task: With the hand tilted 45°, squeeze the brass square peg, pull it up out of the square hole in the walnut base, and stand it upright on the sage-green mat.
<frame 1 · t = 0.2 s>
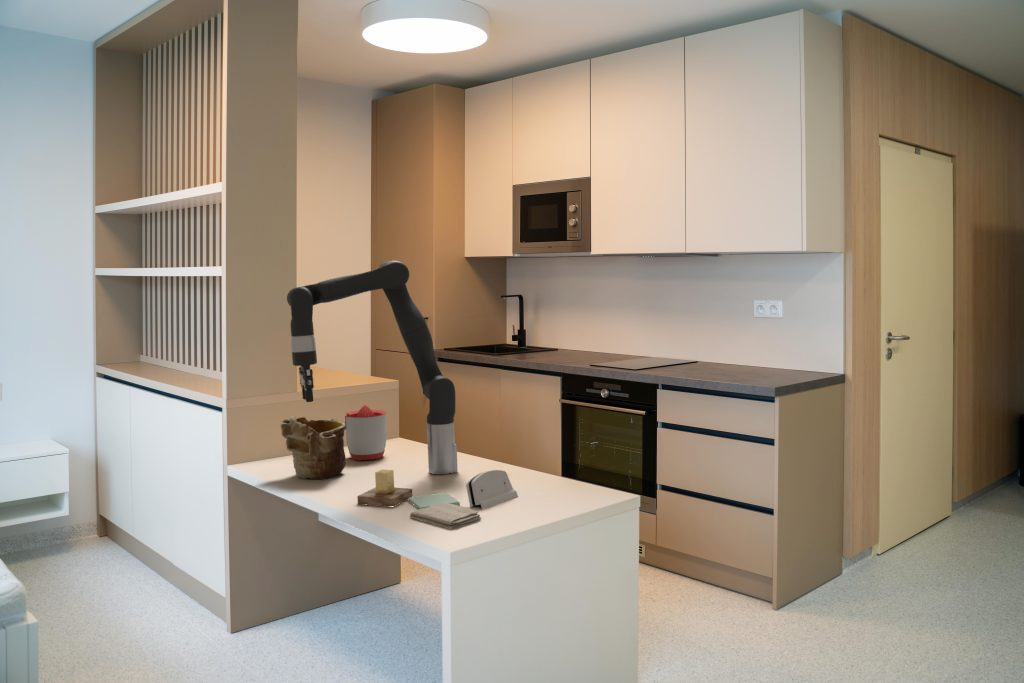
hand: (308, 400, 263), 29 cm above the countertop, tool pointing down, fingers open, 8 cm apart
socket base: (385, 500, 249), on the countertop
mat: (433, 503, 245), on the countertop
washcloth: (445, 521, 229), on the countertop
citrus juicer: (364, 458, 310), on the countertop
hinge: (491, 501, 246), on the countertop
peg: (384, 486, 249), in the socket base
ceramic vessel: (322, 476, 283), on the countertop
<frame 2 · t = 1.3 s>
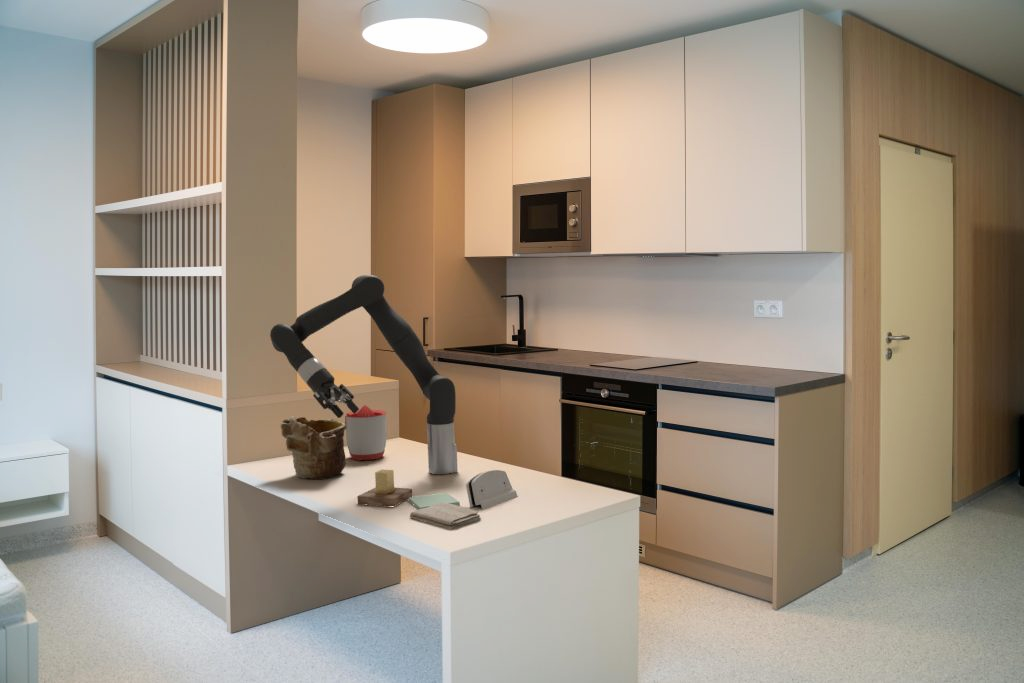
hand: (349, 413, 251), 26 cm above the countertop, tool tilted 45°, fingers open, 8 cm apart
nothing on the countertop moved.
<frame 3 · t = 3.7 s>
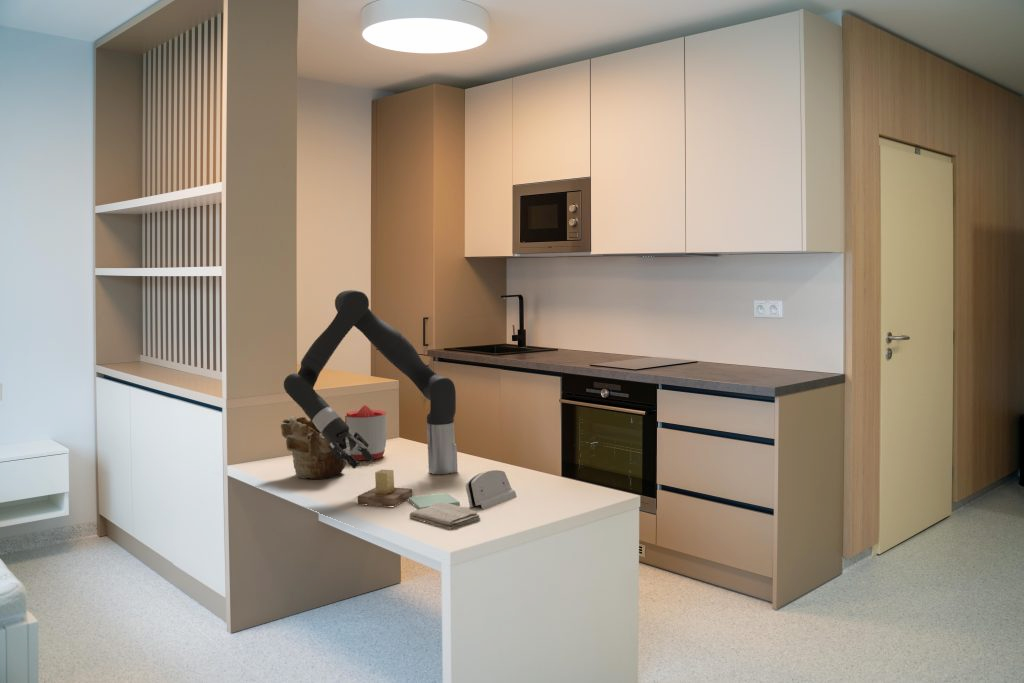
hand: (364, 463, 251), 11 cm above the countertop, tool tilted 45°, fingers open, 8 cm apart
nothing on the countertop moved.
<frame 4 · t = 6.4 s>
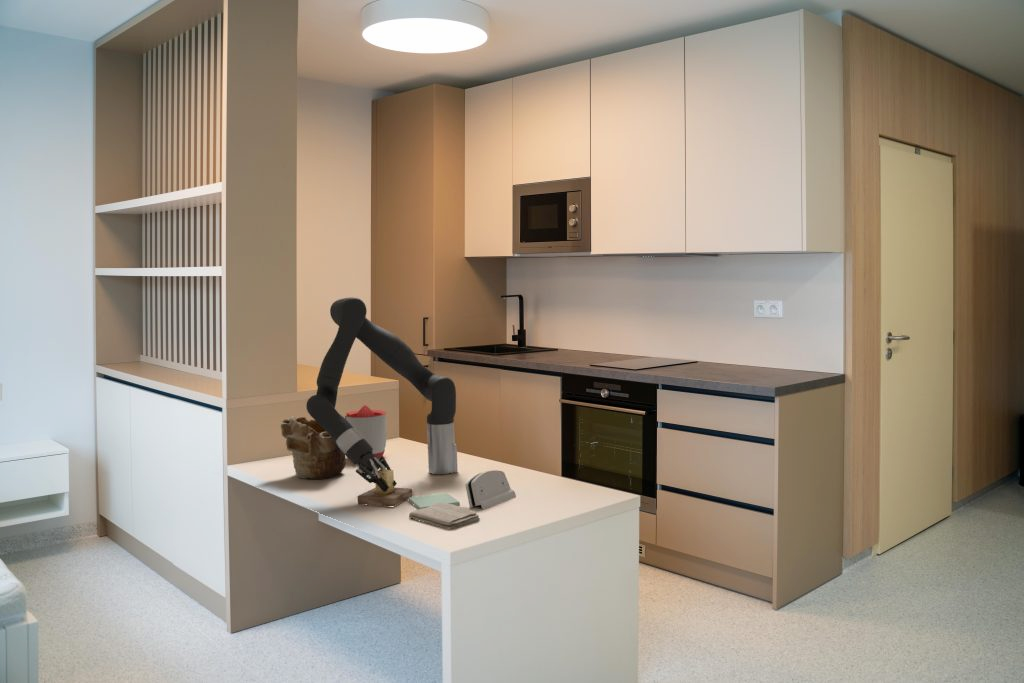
hand: (390, 487, 248), 4 cm above the countertop, tool tilted 45°, fingers closed on peg, 4 cm apart
peg: (384, 485, 249), in the socket base, touching gripper
everything else where it was.
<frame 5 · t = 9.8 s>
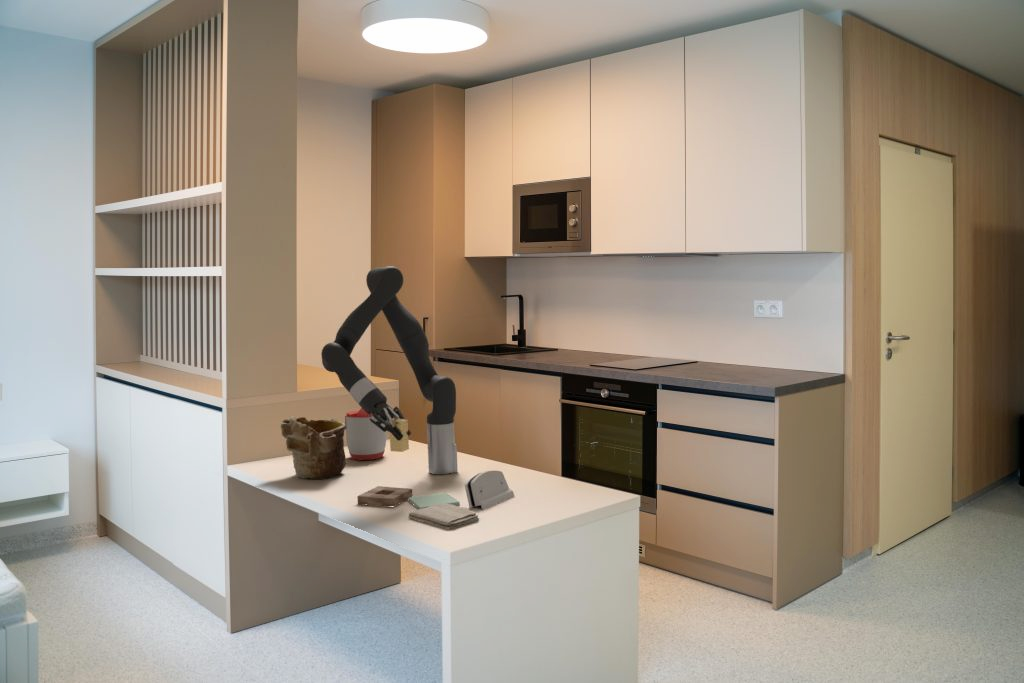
hand: (405, 436, 245), 20 cm above the countertop, tool tilted 45°, fingers closed on peg, 4 cm apart
peg: (399, 435, 246), point 20 cm above the countertop, touching gripper
everything else where it was.
when the fingers open (6 cm above the countertop, at t = 13.5 s): peg stays where it is, resting on mat.
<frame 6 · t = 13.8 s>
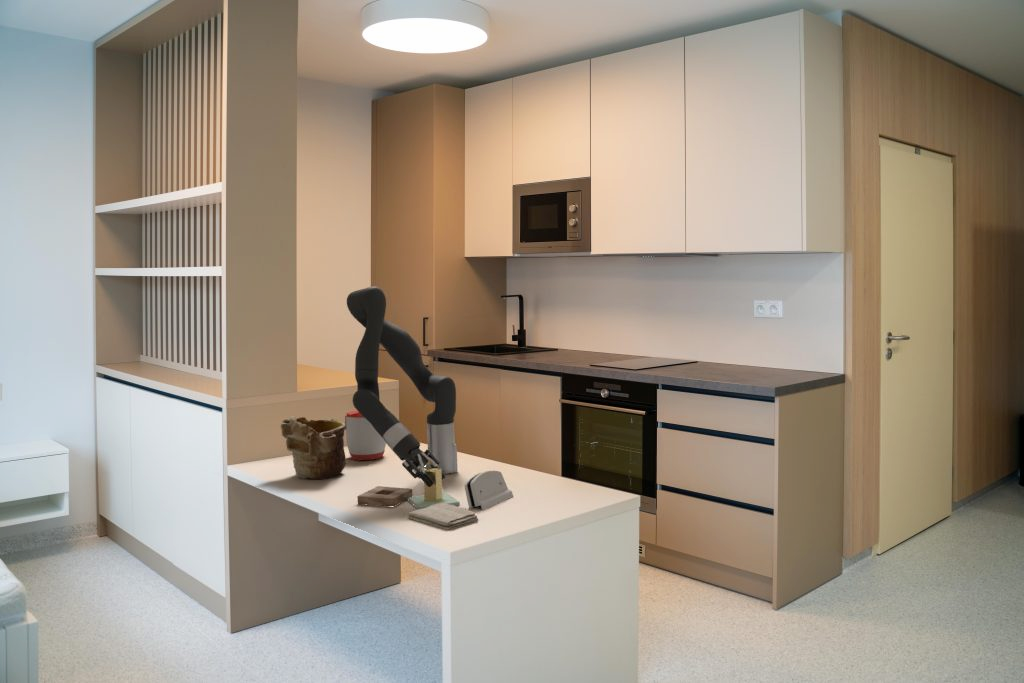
hand: (437, 482, 244), 6 cm above the countertop, tool tilted 45°, fingers open, 7 cm apart
peg: (432, 484, 244), on the mat, point 6 cm above the countertop
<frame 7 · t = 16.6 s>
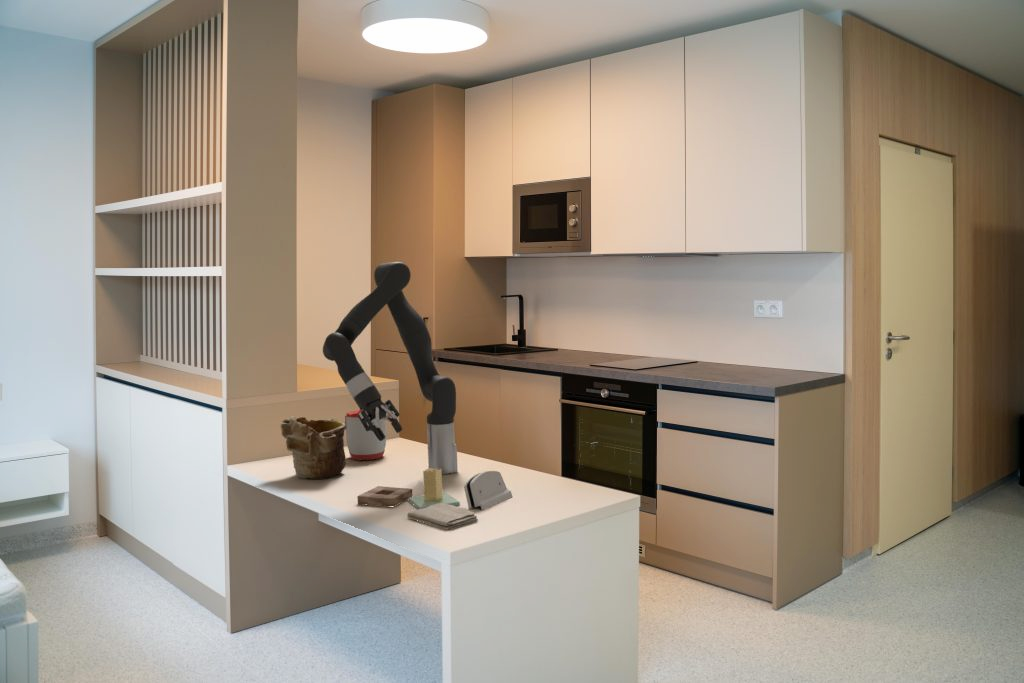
hand: (391, 435, 250), 19 cm above the countertop, tool tilted 35°, fingers open, 8 cm apart
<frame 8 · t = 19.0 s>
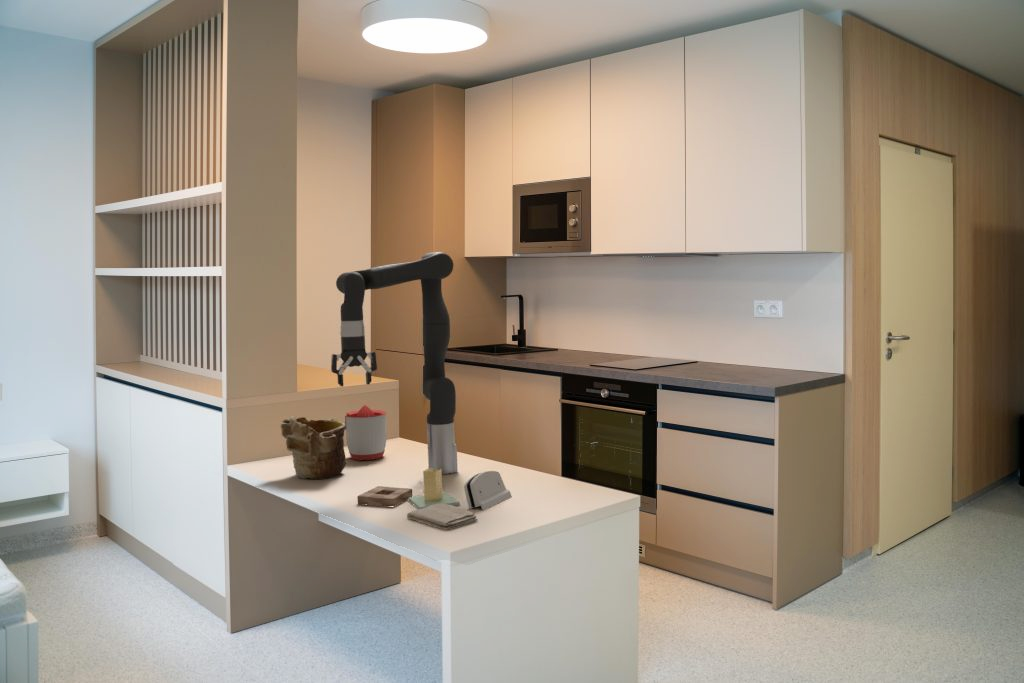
hand: (355, 385, 264), 33 cm above the countertop, tool pointing down, fingers open, 8 cm apart
at the end: peg inside the target area on the mat (0.0 cm from its centre), point 5.5 cm above the mat's base; peg tilted 0°; the gripper is holding nothing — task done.
